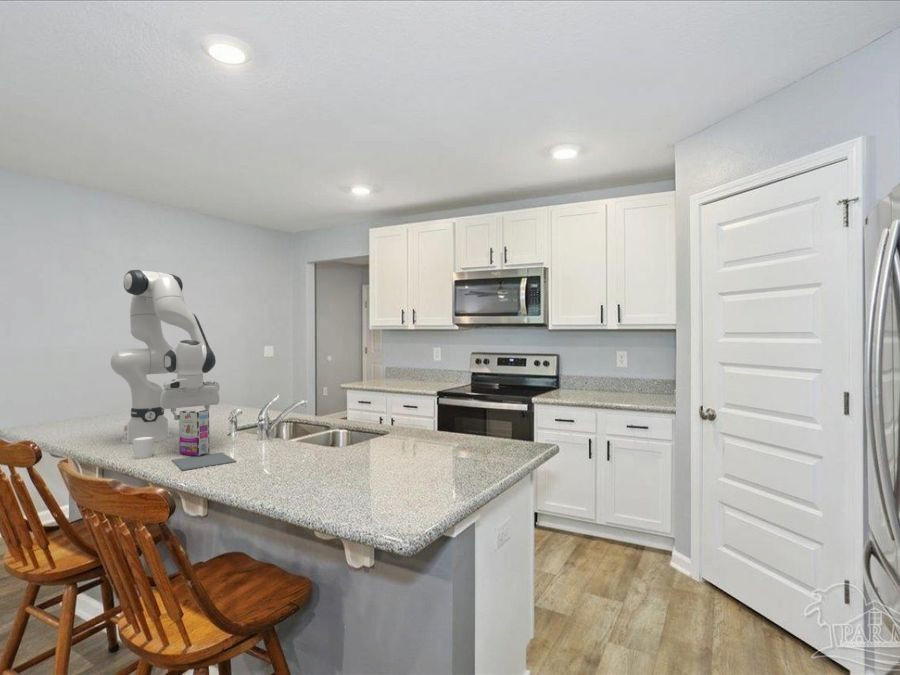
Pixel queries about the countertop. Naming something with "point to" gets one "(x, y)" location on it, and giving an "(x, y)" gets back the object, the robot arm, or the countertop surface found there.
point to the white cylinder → (143, 447)
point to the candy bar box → (194, 432)
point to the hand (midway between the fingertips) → (190, 418)
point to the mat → (202, 461)
